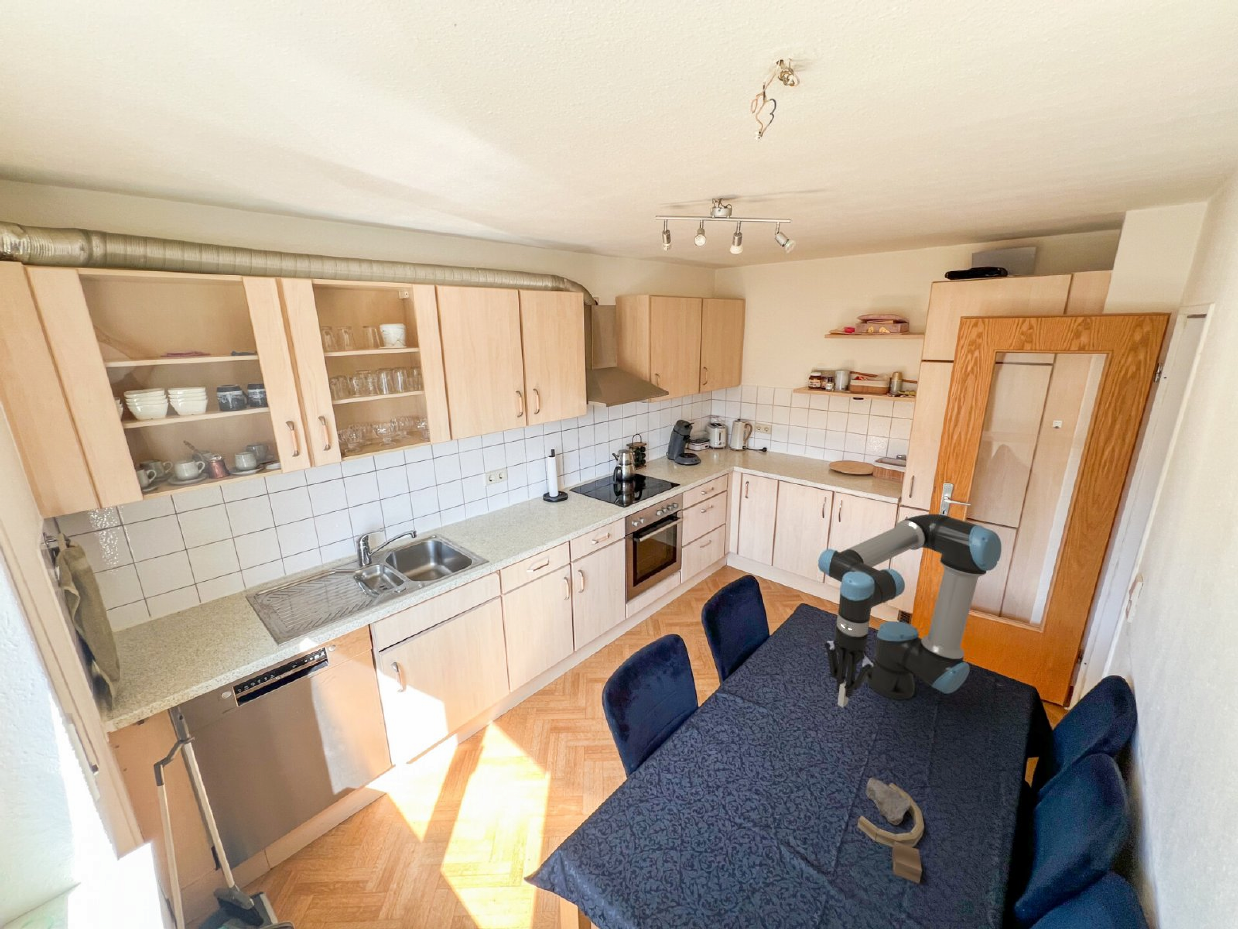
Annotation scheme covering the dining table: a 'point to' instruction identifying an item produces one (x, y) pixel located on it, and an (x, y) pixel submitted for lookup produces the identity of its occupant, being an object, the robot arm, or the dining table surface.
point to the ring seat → (889, 838)
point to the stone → (887, 801)
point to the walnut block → (906, 862)
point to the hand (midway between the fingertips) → (842, 703)
